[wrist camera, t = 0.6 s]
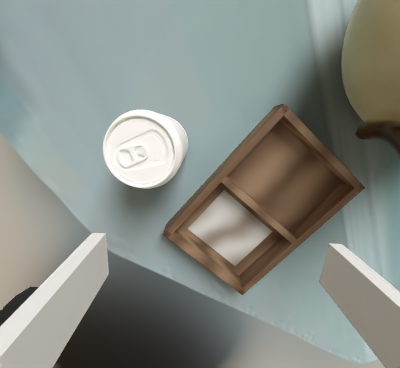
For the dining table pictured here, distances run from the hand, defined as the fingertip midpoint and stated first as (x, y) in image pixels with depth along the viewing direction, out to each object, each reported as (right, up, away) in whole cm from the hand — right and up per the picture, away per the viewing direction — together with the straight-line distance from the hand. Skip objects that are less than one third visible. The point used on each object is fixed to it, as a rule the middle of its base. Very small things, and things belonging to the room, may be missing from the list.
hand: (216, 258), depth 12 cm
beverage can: (-7, +11, +19) cm, 23 cm away
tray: (+8, +1, +22) cm, 23 cm away
